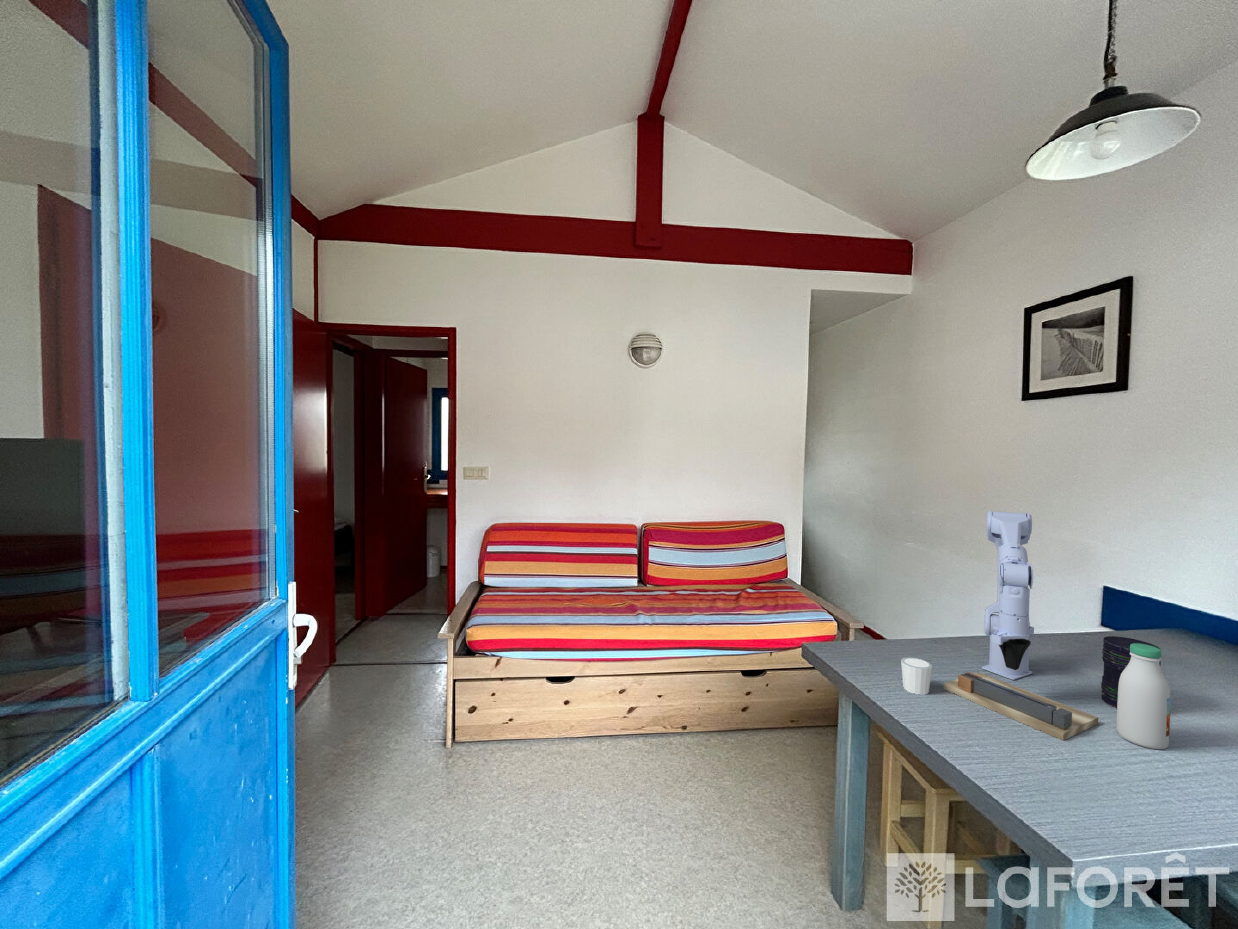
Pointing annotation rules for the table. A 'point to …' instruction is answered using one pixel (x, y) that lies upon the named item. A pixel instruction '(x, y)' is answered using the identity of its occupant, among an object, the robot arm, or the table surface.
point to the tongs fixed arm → (1016, 702)
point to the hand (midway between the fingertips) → (1012, 668)
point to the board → (1078, 717)
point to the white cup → (916, 675)
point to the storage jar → (1115, 665)
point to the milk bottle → (1144, 699)
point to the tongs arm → (1010, 690)
